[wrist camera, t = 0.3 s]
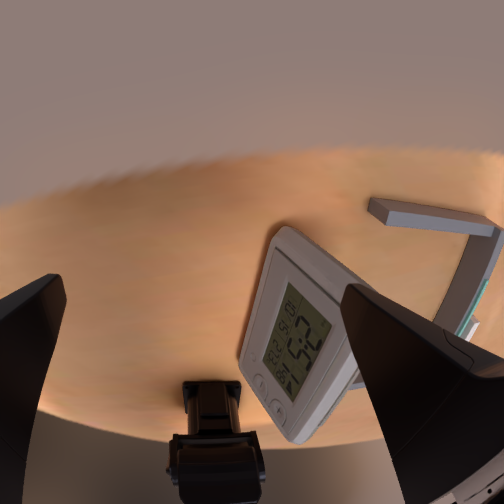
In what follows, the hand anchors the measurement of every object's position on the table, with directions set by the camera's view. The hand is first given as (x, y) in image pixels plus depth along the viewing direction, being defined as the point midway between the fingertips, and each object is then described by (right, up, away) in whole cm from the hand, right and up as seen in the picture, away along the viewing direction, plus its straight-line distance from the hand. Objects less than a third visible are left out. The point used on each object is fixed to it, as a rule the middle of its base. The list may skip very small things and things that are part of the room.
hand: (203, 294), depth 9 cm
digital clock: (+4, -3, +18) cm, 19 cm away
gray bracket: (+19, -4, +21) cm, 28 cm away
